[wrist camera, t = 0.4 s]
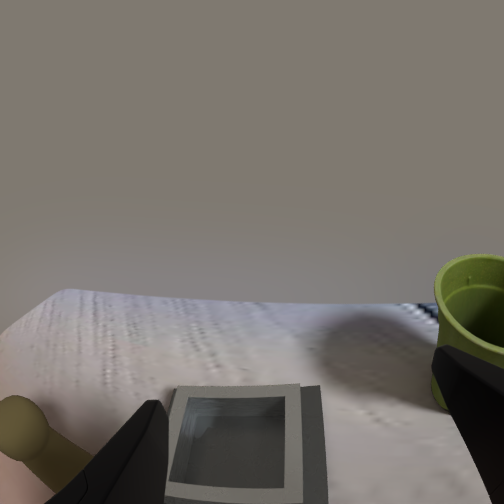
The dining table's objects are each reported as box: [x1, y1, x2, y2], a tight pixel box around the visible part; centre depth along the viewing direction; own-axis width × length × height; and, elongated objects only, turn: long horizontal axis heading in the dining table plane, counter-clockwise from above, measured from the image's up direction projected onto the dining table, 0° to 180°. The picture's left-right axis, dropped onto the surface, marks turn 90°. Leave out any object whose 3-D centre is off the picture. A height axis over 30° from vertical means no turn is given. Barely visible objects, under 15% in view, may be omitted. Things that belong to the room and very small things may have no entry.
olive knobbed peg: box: [0, 395, 94, 494], centre depth 16 cm, size 6×6×11 cm
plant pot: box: [431, 254, 504, 410], centre depth 20 cm, size 12×12×11 cm
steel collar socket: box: [164, 383, 328, 504], centre depth 21 cm, size 14×14×4 cm
